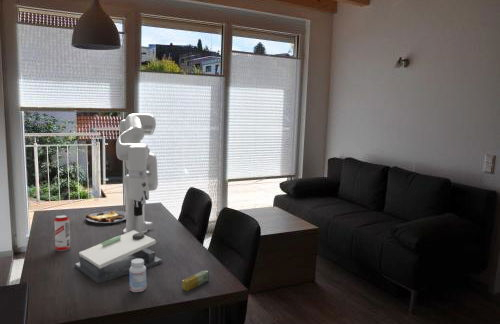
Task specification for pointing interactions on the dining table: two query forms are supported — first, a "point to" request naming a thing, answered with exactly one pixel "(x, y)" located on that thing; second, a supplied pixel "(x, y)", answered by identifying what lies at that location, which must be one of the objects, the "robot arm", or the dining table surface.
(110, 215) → the food plate
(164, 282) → the dining table surface
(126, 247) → the board
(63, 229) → the beer can
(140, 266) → the pill bottle
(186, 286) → the medication box
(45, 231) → the dining table surface
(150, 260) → the level stand
